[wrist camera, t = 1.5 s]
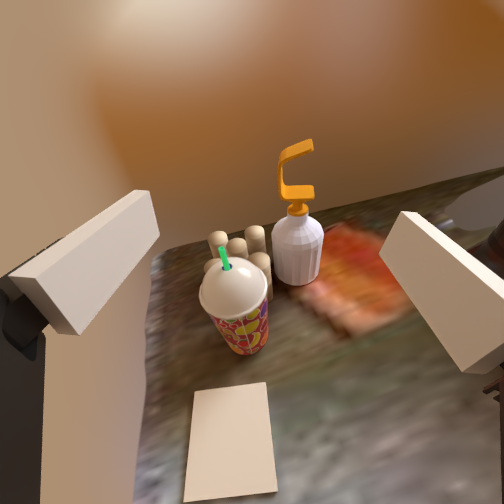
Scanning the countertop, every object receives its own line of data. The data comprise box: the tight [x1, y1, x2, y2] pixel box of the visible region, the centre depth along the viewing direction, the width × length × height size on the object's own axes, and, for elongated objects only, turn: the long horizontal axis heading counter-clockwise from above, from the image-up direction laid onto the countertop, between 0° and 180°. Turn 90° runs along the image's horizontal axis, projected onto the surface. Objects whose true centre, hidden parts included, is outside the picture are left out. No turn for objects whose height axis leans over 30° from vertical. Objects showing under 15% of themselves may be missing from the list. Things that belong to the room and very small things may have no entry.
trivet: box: [183, 382, 278, 502], centre depth 26 cm, size 10×10×1 cm
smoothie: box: [199, 246, 268, 355], centre depth 28 cm, size 8×8×20 cm
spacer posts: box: [204, 226, 273, 303], centre depth 39 cm, size 11×11×10 cm
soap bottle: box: [272, 139, 324, 286], centre depth 35 cm, size 9×9×25 cm
